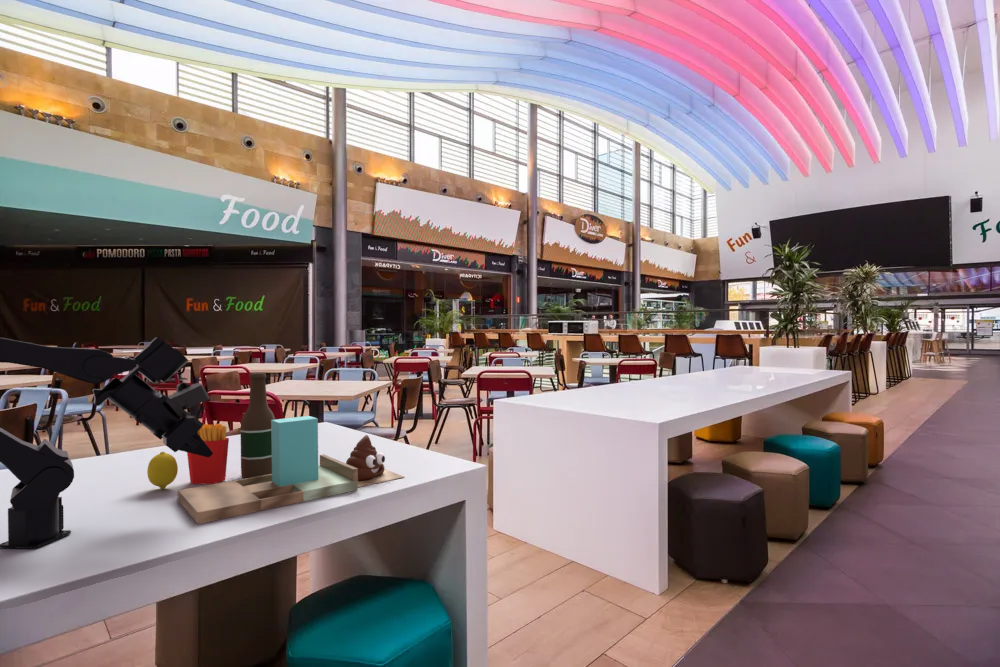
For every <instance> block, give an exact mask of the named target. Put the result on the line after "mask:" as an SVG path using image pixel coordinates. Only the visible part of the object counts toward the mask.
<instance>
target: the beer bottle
mask: <svg viewBox="0 0 1000 667" xmlns="http://www.w3.org/2000/svg"><path fill="white" fill-rule="evenodd" d="M266 378H267V374H266V373H265V372H252V373H250V374H249V379H250V384H249V386H250V387H249V401H248V402H249V403H248V406H247V407H248V408H247V409H246V411H245V412H244V414H243V415H242V419H241V422H240V429H239V432H240V472H241V477H242V478H243V479H246V478H251V477H257V476H263V475H269V474H272V441H271V420H276V417H275V414H274V413H273V411H272V410H271V408H270V407H269V404H268V401H267V400H268V399H267V398H268V397H267V387H266V386H267V385H266Z"/></svg>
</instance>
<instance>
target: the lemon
mask: <svg viewBox="0 0 1000 667" xmlns="http://www.w3.org/2000/svg"><path fill="white" fill-rule="evenodd" d="M147 465H148V466H147V478H148V481H149V483H151V484H152V485H153V486H155V487H159V489H162V490H163V489H165V488H166V487H168V486H169V485H170V484H172V483H173V482H174V481H175V480H176V479H177V475H178V470H179V469H178V468H179V467H178V462H177V461H176V458H175V457H174V456H173V455H171V454H170V453H168V452H165V451H161V452H159V453H158V454H156V455H154V456H153V457H151V459H150V460H149V463H148V464H147Z"/></svg>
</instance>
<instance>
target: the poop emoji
mask: <svg viewBox="0 0 1000 667" xmlns="http://www.w3.org/2000/svg"><path fill="white" fill-rule="evenodd" d="M349 455H350V457H348V458H347V459H346V462H345V463H346V464H348V465H350V466H353V467H355V468H358V481H364V480H368V479H371V478H373V477H374V476H376V475H377V476H378V475H381V474H383V472H384V469H385V464H384V463H385V461H386V457H385V454H384V453H383V452H377V449H376V447H375V446H373V445H372V440H371V438H370V436H369V435H368V434H365V435H364V436H363V437H362V438H361V439H360V440H358V442H357V444H356V446H354V447H353V450H352V451H351V452H350V454H349Z"/></svg>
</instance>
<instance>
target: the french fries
mask: <svg viewBox="0 0 1000 667" xmlns="http://www.w3.org/2000/svg"><path fill="white" fill-rule="evenodd" d="M203 424H204V425H203V426H202V427H201V428H200V429H199V430H198V435H199V436H200V437H201V438H202V440H203V441H204V442H205V443H206V445H207V446H208V447H209V448H210V450H211V451H212V452H213V454H212V455H211V456H210V457H209V458H208V457H204V456H200V455H196V454H193V453H188V452H186V453H187V462H188V471H189V480H190V484H192V485H211V484H217V483H223V482H225V480H226V475H227V464H228V463H227V462H228V452H229V441H230V440H229V439H230V438H229V437H227V428H228V427H227V426H225V425H222V424H220V423H214V424H206V423H203Z"/></svg>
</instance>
